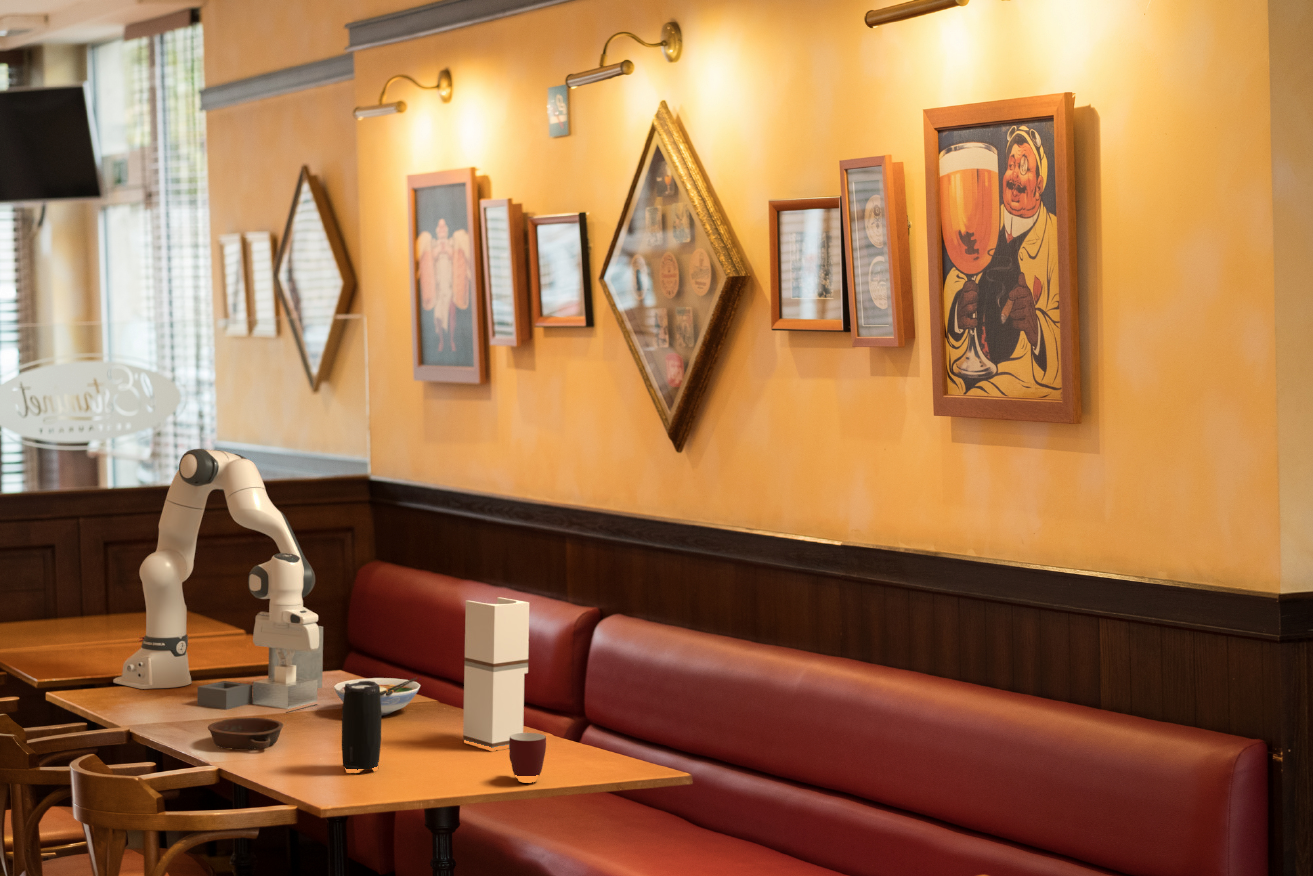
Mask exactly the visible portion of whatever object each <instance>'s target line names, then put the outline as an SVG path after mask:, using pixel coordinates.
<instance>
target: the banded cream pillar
mask: <svg viewBox="0 0 1313 876" xmlns="http://www.w3.org/2000/svg"><path fill="white" fill-rule="evenodd" d="M496 598H497V601H496V603H486V602H485V603H484V602H481V601H480V602H479V601H473V600H465V617H464V618H465V620H464V621H465V622H464V623H465V625H464V630H465V631H464V667H463V668H464V672H463V673H464V675H463V676H464V679H463V685H464V686H463V726H462V727H463V728H462V729H463V730H462V731H463V732H462V733H463V734H462V735H463V737H462V738H463V739H462V741H463V740H466V741H469V742H474V743H477V744H481V745H484V746H489V747H491V748H494V747H498V746H505V745H509V739H510V736H511V735H513V734H517V733H524V711H525V710H524V708H525V706H524V705H525V674H528V673H529V648H530V647H529V646H530V645H529V644H530V643H529V639H530V601H529V602H528V601H522V600H517V599H511V598H505V597H496Z"/></svg>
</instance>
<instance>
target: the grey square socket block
mask: <svg viewBox="0 0 1313 876" xmlns="http://www.w3.org/2000/svg"><path fill="white" fill-rule="evenodd" d="M196 699H197V704H196V705H197V707H205V708H209V709H210V708H211V709H216V710H217V709H220V710H225V711H226V710H231V709H235V708H240V707H243V706H246V705H251V704H253V683H252V684H251V683H243V682H237V681H235V682H234V681H229V680H228V681H227V680H223V681H222V680H221V681H218V682H213V683H209V684H204V685H200V686H197V698H196Z"/></svg>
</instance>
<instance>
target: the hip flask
mask: <svg viewBox="0 0 1313 876" xmlns="http://www.w3.org/2000/svg"><path fill="white" fill-rule="evenodd" d="M318 628H319V647H318V649H317V650H316V651H312V652H305V651H296V650H295V654H294V656H293V658H292V664H291V665H296V677H303V678H311V679H317V689H321V688H323V670H324V669H323V665H324V662H323V659H324V658H323V657H324V654H323V653H324V652H323V651H324V626H321V625H318ZM283 653H284V656H285V658H286V657H287V655H288V653H286V649H285V651H283ZM278 665H279V658H278V656H277V654H276V648H271V647H268V674H267V675H268V677H267V679H268V678H272V677H275V666H278Z"/></svg>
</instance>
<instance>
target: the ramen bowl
mask: <svg viewBox="0 0 1313 876" xmlns="http://www.w3.org/2000/svg"><path fill="white" fill-rule="evenodd" d="M415 680H418V677H413V678H411V679H409V680H408V679H403V678H401V679H400V678H393V677H392V678H391V677H389V678H388V677H385V678H384V677H372V678H370V677H369V678H357V679H349V680H345V681H341V682H338V683H336V684H335V685H333V688H334V689H333V690H335V693H336V694H337V696H338V698H339V699H340V700H341V701H342V702H343V701H344V693H345V690H344V687H345V684H348V683H349V684H353V683H358V682H360V681H373V682H375V683H376V684H378V685H379V687H380V699H381V717H382V716H388V715H390V714H392V713H393V712H395V711H398V710H401V709H403V708H405V707H406V706H407V705H409V704H410V703H411V701H413V699H414V698H415V697H416V694H417V693H418V692H419V690H420V688H421V684H420V683H419V682H417V681H415Z"/></svg>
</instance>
